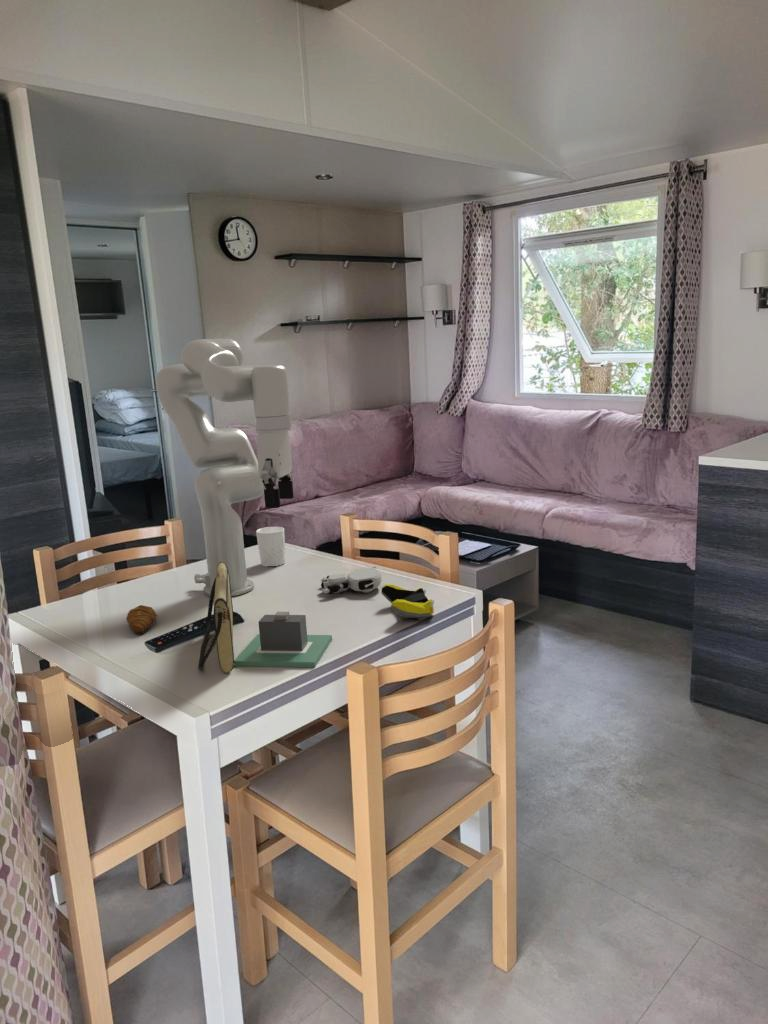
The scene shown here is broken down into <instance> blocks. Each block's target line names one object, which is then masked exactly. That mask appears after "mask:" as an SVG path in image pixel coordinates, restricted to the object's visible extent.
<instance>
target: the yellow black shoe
mask: <svg viewBox="0 0 768 1024" xmlns="http://www.w3.org/2000/svg"><path fill="white" fill-rule="evenodd" d="M380 591H381V595H382V596H383V597H384V598H385V599H386V600H387V601H388V602H390V603H391V605H390V606H391V607H390V608H391V610H392V611H393V612H394V613H396V615H398V616H399V617H401V618H403V619H416V618H417V620H425V618H426V619H427V618H428V617H431V616H432V615H433V614H434V603H435V602H436V601H435V599H428V597H427V596H426V592H427V589H426V588H423V587H421V588H417V589H415V590H409V589H406V588H403V587H400V586H399V585H395V584H392V583H391V584H387V583H386V584H384V585H382V587H381V590H380Z"/></svg>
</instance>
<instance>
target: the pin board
mask: <svg viewBox="0 0 768 1024" xmlns="http://www.w3.org/2000/svg"><path fill="white" fill-rule="evenodd" d="M307 640H308V644H307V645H306V647H305V648H304V649H303V651H261V644H260V633H257V634H256V635H255V637H254V638H253V639H252V640H251V641H250V642H249V643H248V644H247V646H246V647H244V649H242V651H241V652H240V653H239V654H238V655H237V657H235V658H234V666H233V667H271V668H272V667H274V668H275V667H276V668H277V667H278V668H279V667H281V668H282V667H283V668H316V666H318V663H319V662H320V660H321V658H322V657H323V655H324V654H325V652H326V651H325V650H327V649H328V647H329V646H330V644H331V643H330V642H332V641H333V635H332V634H307ZM331 640H332V641H331ZM329 643H330V644H329ZM328 645H329V646H328ZM323 653H324V654H323Z"/></svg>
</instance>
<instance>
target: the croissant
mask: <svg viewBox="0 0 768 1024" xmlns="http://www.w3.org/2000/svg"><path fill="white" fill-rule="evenodd" d="M126 615H127V616H126V619H125V620H126V622H127V623H128V626H129V627H130V628H131V629H132V631H133V633H135V634H137V635H141V634H145V633H146V632H147V631H149V630H150V628H151V627H152V625H153V624H154V623H155V621H156V619H157V617H158V614H157V613H156V612H155V610H154V609H153V607H152V606H147V605H138V606H136V607H134V608H131V609H130V610H129V611H128V613H127V614H126Z"/></svg>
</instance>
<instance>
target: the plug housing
mask: <svg viewBox="0 0 768 1024" xmlns="http://www.w3.org/2000/svg"><path fill="white" fill-rule="evenodd" d="M306 618H307V617H306V614H290V611H276V613H275V614H263V616H262V617H261V618H260V619H259V620H258V632H259V633H258V634H260V644H261V651H303V649H304V648H305V647H306V645H307V644H308V640H307V635H308V631H307V619H306Z"/></svg>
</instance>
